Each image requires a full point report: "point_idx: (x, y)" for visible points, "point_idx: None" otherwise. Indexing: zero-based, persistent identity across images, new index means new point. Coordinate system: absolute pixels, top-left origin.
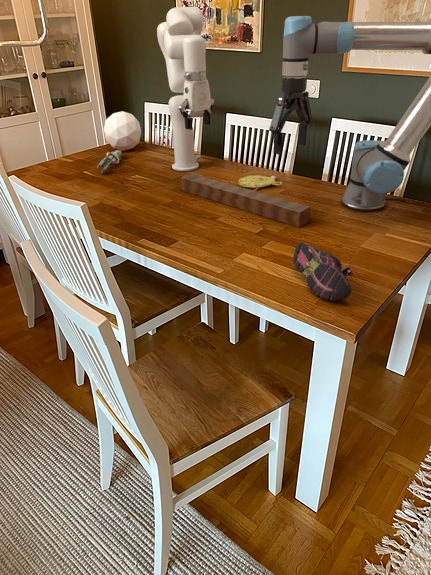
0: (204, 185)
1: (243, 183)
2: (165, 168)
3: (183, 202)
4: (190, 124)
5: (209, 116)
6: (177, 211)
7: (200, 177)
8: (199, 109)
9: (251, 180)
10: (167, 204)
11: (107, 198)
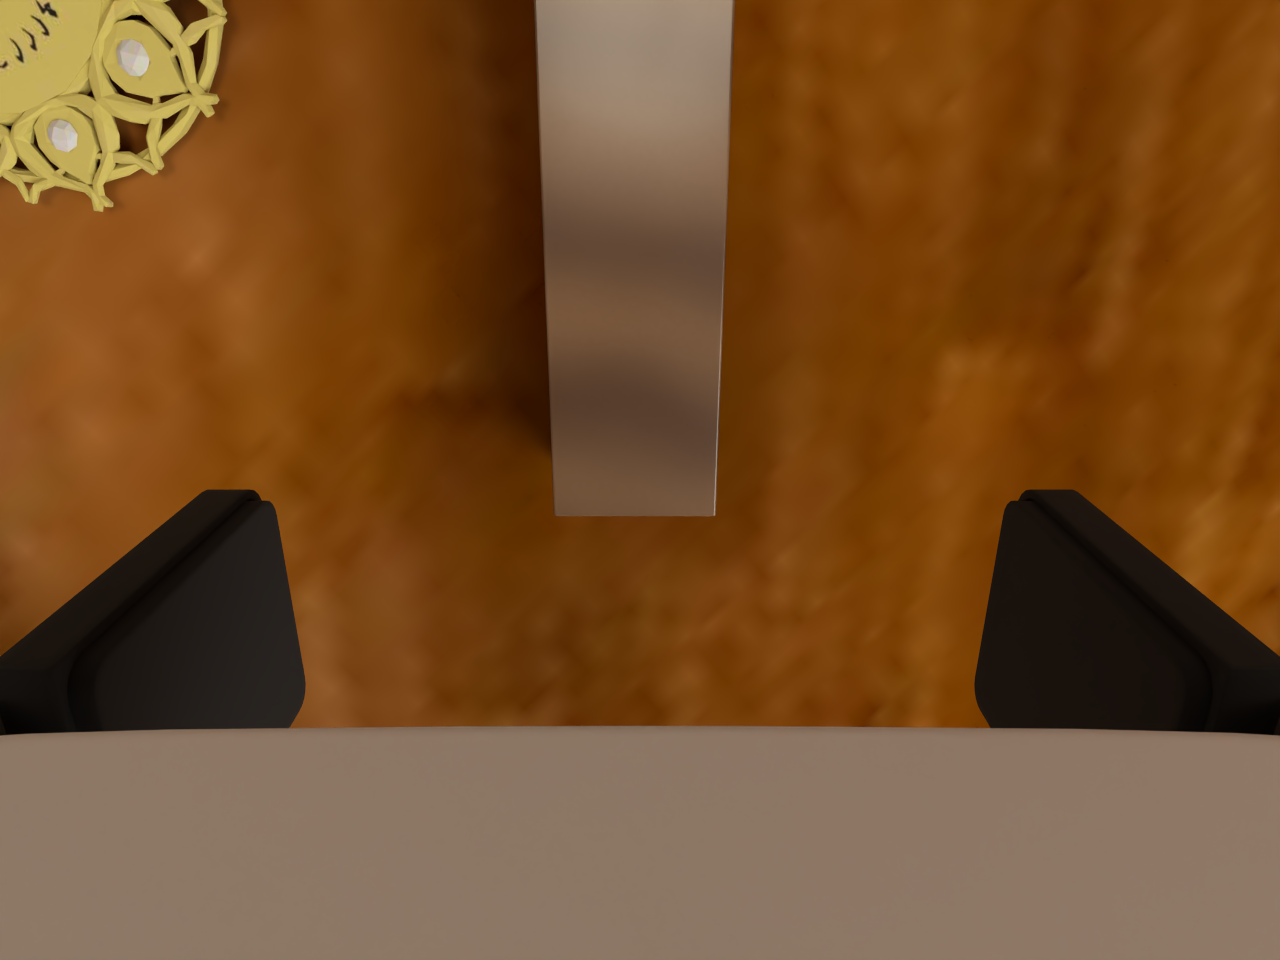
0: (729, 149)
1: (178, 37)
2: None
3: (929, 235)
4: (1147, 570)
5: (98, 609)
6: (1144, 109)
7: (586, 354)
8: (1004, 791)
9: (33, 34)
10: (1045, 319)
11: None
